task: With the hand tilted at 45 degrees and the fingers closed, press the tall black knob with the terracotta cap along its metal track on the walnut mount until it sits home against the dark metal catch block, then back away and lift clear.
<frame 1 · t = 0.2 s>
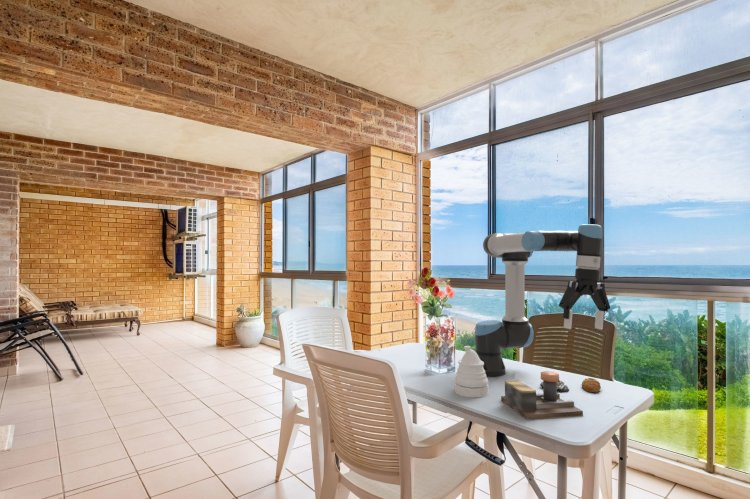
hand: (583, 328, 139), 28 cm above the table, tool pointing down, fingers open, 13 cm apart
mount: (539, 407, 139), on the table
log: (554, 389, 161), on the table
honey pot: (471, 392, 156), on the table
knob: (550, 387, 140), point 7 cm above the table, slide at 6.5 cm
pastry: (591, 390, 159), on the table
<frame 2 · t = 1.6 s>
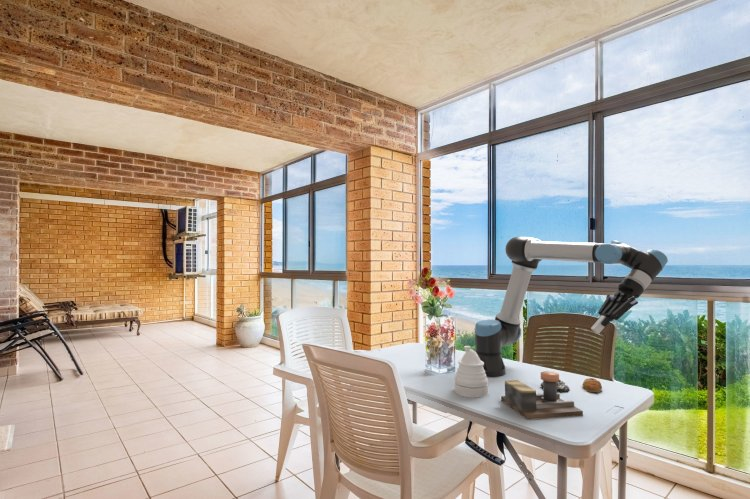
hand: (594, 331, 143), 26 cm above the table, tool tilted 45°, fingers closed
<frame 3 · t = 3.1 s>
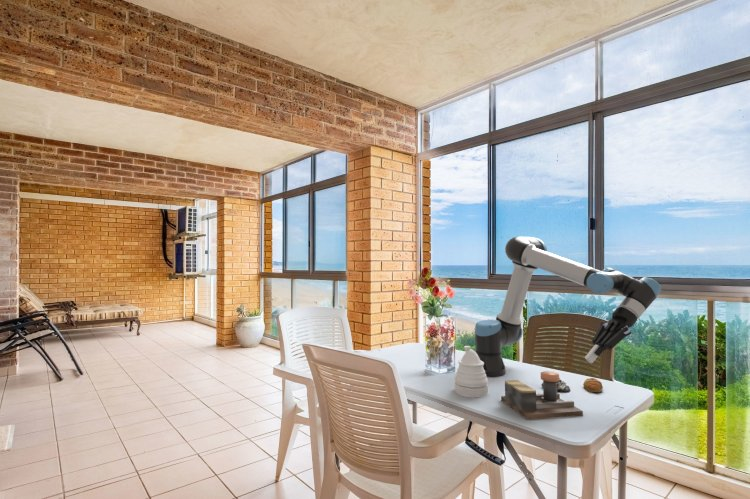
hand: (588, 360, 143), 16 cm above the table, tool tilted 45°, fingers closed
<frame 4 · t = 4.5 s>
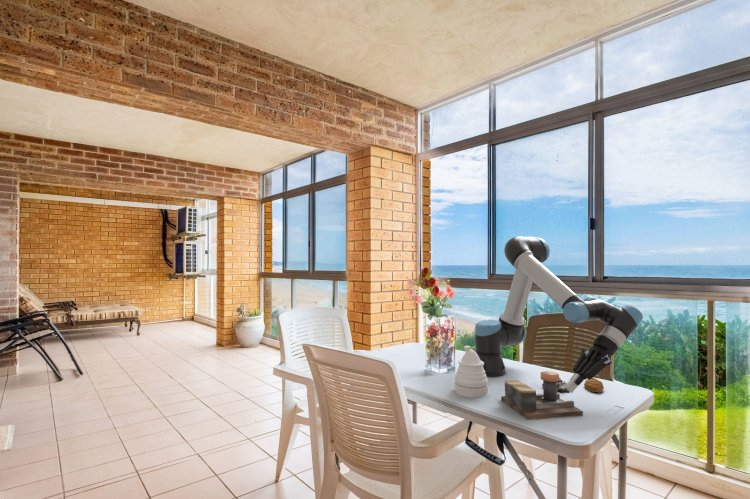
hand: (568, 389, 141), 6 cm above the table, tool tilted 45°, fingers closed
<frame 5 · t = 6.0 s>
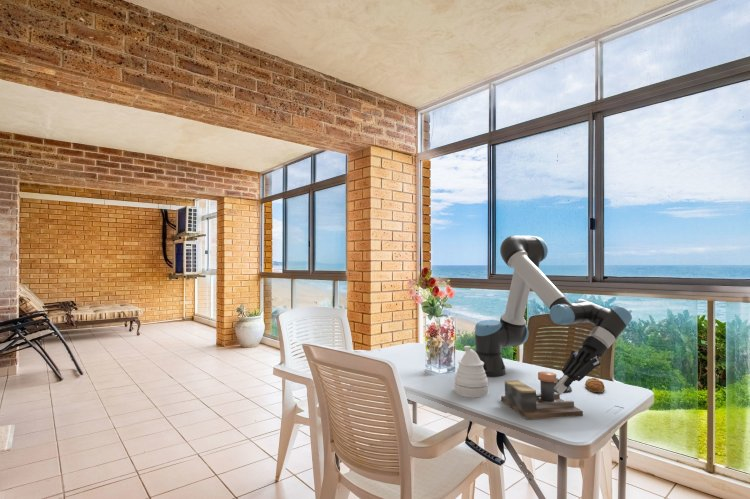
hand: (557, 391, 140), 5 cm above the table, tool tilted 45°, fingers closed
knob: (547, 387, 140), point 7 cm above the table, slide at 5.4 cm, touching gripper
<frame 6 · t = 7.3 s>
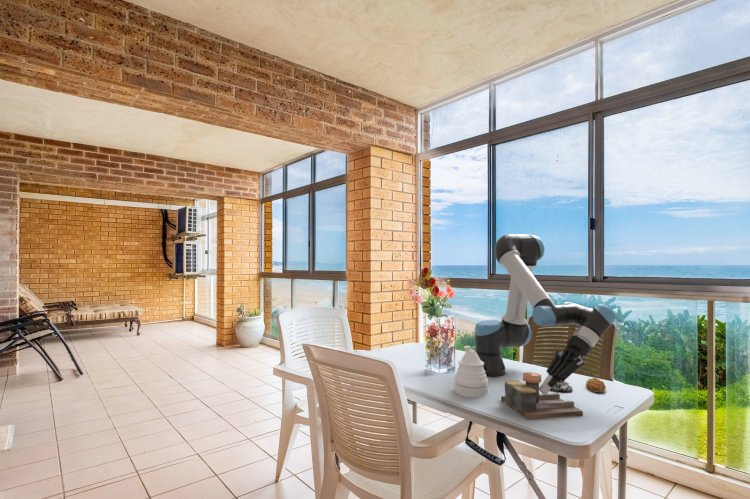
hand: (541, 392, 139), 5 cm above the table, tool tilted 45°, fingers closed
knob: (532, 388, 139), point 7 cm above the table, slide at -0.3 cm, touching gripper, mount
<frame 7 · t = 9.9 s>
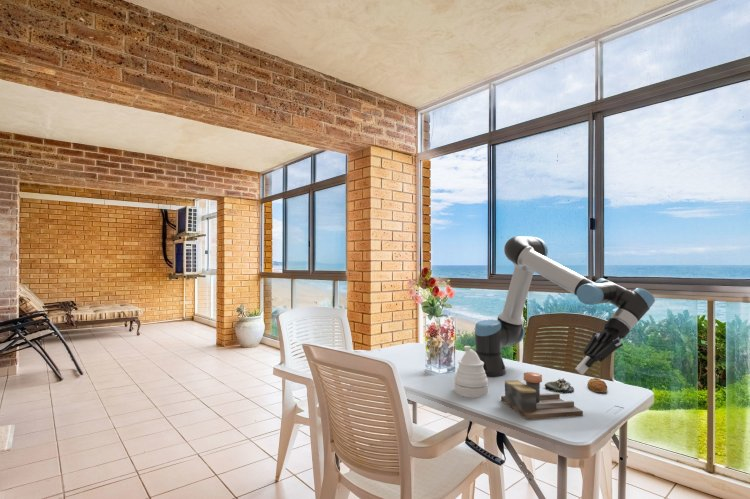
hand: (578, 371, 142), 12 cm above the table, tool tilted 45°, fingers closed
knob: (532, 388, 139), point 7 cm above the table, slide at -0.1 cm
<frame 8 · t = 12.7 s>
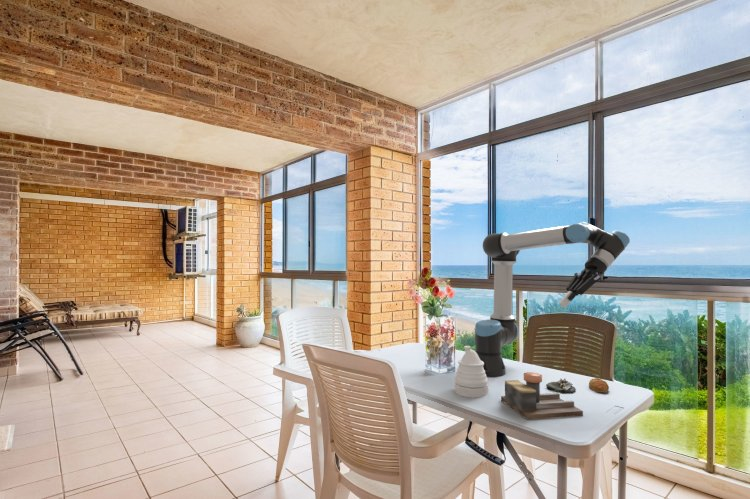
hand: (561, 305, 156), 34 cm above the table, tool tilted 45°, fingers closed
at the end: knob slide at -0.1 cm; honey pot moved 0.3 cm from its start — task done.
